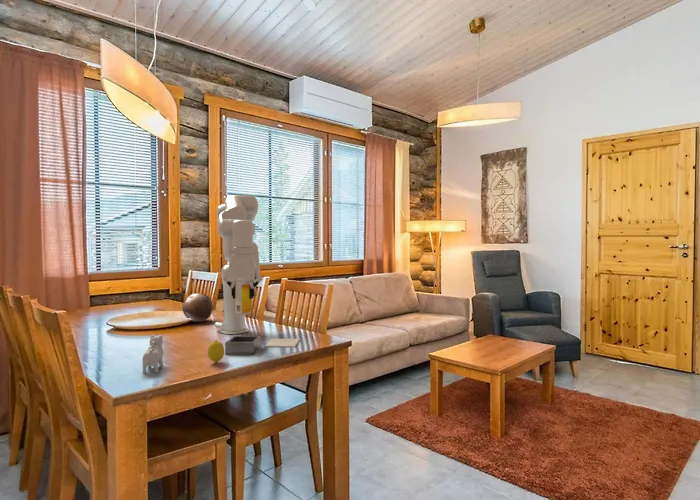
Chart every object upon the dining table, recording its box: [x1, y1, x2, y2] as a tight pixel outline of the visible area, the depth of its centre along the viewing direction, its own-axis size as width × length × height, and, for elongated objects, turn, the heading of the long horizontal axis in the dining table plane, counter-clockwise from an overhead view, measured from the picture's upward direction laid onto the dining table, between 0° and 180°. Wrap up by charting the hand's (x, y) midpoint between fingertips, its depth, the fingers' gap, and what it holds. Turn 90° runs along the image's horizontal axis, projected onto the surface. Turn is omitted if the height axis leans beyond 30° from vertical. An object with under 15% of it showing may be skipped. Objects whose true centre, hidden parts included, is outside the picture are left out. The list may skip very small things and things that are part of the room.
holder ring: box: [224, 335, 262, 356], centre depth 173 cm, size 11×11×4 cm
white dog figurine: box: [141, 334, 164, 374], centre depth 150 cm, size 5×13×11 cm, turn 11°
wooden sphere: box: [182, 292, 214, 323], centre depth 232 cm, size 15×15×15 cm
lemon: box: [207, 340, 225, 364], centre depth 156 cm, size 6×6×8 cm
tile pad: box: [264, 338, 301, 348], centre depth 185 cm, size 12×12×1 cm
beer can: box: [235, 278, 252, 316], centre depth 173 cm, size 6×6×15 cm
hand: (243, 297), depth 173 cm, fingers closed on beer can, 5 cm apart
